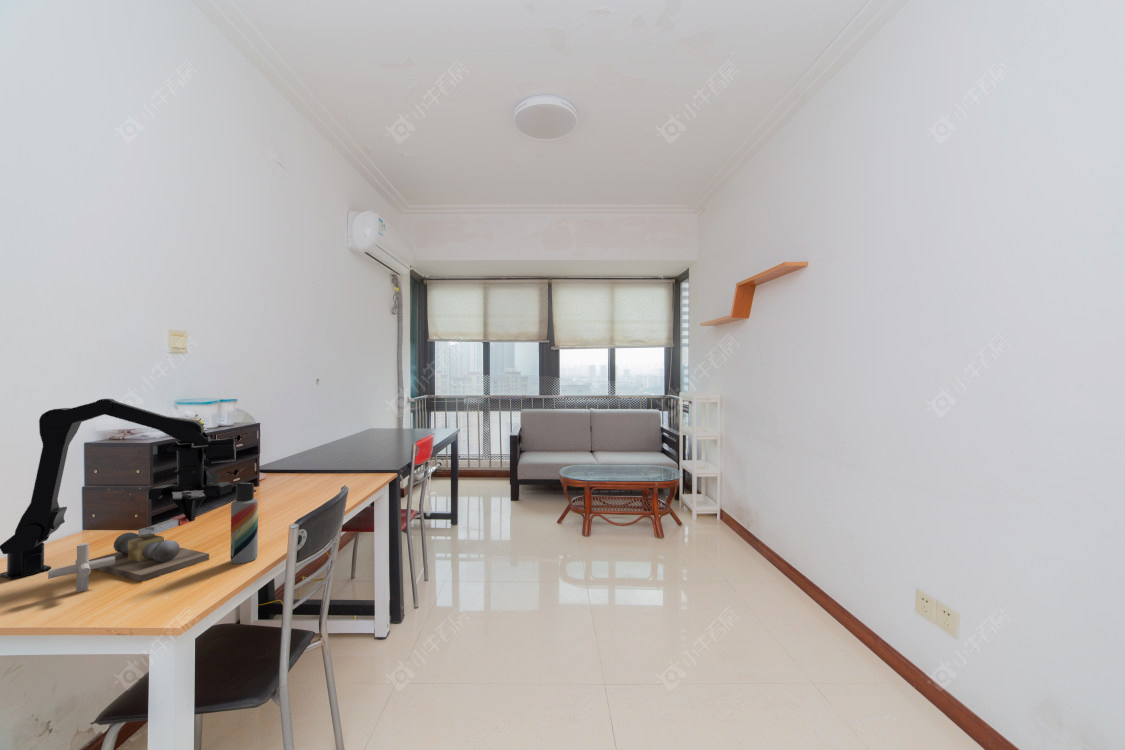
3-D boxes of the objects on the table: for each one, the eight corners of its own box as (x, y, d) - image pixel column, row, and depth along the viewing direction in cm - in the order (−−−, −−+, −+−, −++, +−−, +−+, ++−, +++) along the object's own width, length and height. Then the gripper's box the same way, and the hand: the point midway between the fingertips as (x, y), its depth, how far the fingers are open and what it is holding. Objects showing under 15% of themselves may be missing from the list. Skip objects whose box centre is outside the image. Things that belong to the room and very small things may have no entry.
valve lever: (146, 538, 112) (146, 530, 112) (134, 538, 112) (134, 530, 112) (195, 520, 127) (195, 513, 127) (185, 520, 127) (185, 513, 127)
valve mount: (85, 566, 111) (85, 540, 111) (153, 547, 124) (154, 524, 124) (141, 581, 102) (142, 553, 102) (209, 559, 115) (209, 534, 115)
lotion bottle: (225, 562, 113) (225, 483, 113) (247, 554, 118) (248, 479, 119) (240, 565, 111) (241, 485, 112) (262, 557, 116) (263, 480, 117)
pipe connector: (111, 576, 105) (112, 533, 106) (117, 588, 99) (117, 543, 99) (46, 591, 98) (47, 545, 98) (48, 605, 91) (49, 556, 92)
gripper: (243, 458, 134) (244, 511, 133) (177, 461, 132) (178, 514, 132) (218, 465, 122) (219, 522, 122) (145, 469, 121) (146, 526, 121)
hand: (191, 521), depth 125 cm, fingers closed
